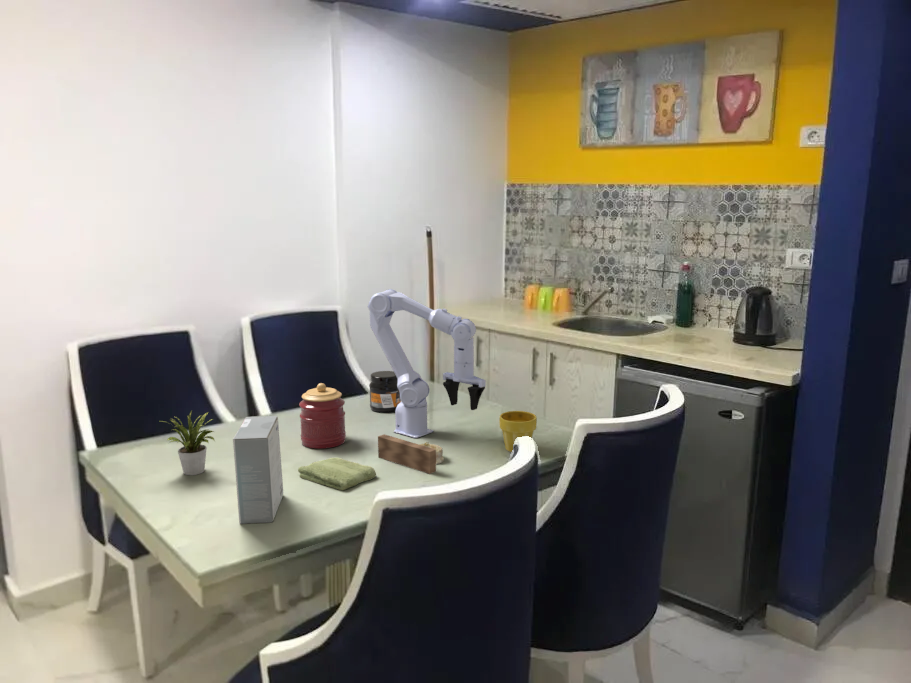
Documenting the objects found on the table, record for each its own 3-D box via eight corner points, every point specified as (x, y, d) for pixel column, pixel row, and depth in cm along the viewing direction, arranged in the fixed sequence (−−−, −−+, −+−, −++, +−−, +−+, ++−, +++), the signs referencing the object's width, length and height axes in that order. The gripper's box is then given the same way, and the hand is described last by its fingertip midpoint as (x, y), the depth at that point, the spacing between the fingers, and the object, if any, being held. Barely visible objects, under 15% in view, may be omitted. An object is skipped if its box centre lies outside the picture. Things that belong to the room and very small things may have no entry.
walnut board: (378, 457, 201) (377, 436, 200) (384, 454, 202) (384, 434, 201) (429, 474, 189) (429, 451, 187) (436, 471, 190) (435, 449, 189)
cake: (407, 456, 204) (407, 437, 203) (443, 455, 204) (443, 436, 204) (408, 466, 194) (408, 446, 193) (445, 466, 195) (446, 446, 194)
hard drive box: (251, 495, 176) (246, 416, 172) (283, 494, 176) (279, 415, 172) (238, 524, 160) (232, 437, 156) (273, 523, 161) (268, 436, 157)
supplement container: (388, 415, 239) (387, 379, 236) (363, 410, 244) (362, 375, 242) (407, 407, 247) (407, 372, 245) (383, 402, 253) (382, 368, 251)
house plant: (163, 487, 181) (157, 424, 177) (157, 469, 193) (151, 409, 190) (222, 477, 187) (218, 415, 184) (213, 459, 199) (209, 402, 196)
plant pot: (534, 456, 201) (534, 422, 199) (496, 454, 203) (497, 420, 201) (537, 444, 211) (538, 411, 209) (502, 442, 213) (502, 409, 211)
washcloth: (332, 463, 198) (332, 451, 197) (379, 478, 187) (379, 466, 186) (294, 477, 188) (293, 465, 187) (341, 494, 177) (340, 482, 176)
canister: (315, 453, 204) (313, 391, 201) (292, 441, 214) (289, 382, 210) (354, 442, 213) (353, 383, 209) (331, 431, 222) (328, 375, 219)
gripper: (435, 360, 214) (436, 405, 216) (474, 368, 204) (474, 414, 207) (451, 356, 219) (451, 400, 222) (490, 363, 210) (489, 409, 212)
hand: (463, 406), depth 215 cm, fingers open, 7 cm apart
